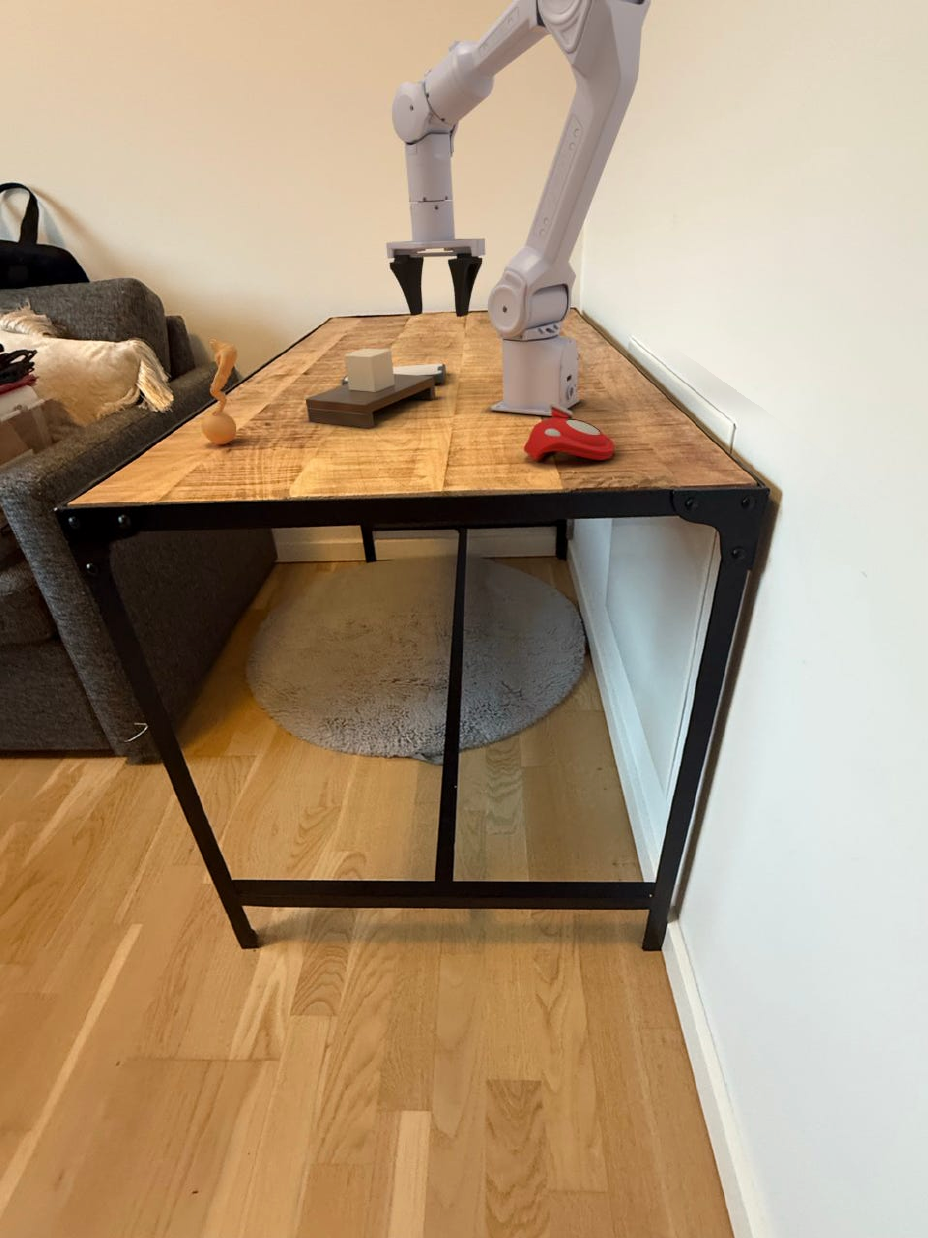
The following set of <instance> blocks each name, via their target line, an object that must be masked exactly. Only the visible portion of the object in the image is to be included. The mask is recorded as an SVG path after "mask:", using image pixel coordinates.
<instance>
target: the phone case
mask: <svg viewBox="0 0 928 1238" xmlns="http://www.w3.org/2000/svg"><path fill="white" fill-rule="evenodd" d="M446 367H447V366H446V364H445V363H428V364H427V363H425V364H416V365H403V366H393V374H404V375H418V376H432V377H434V385H435V384H440V383H443V382H445V379H446V373H447V370H446V369H447V368H446ZM347 383H348V379H347V374H346V375H345V376H344V378H343V379H342V380H341V386H342V385H345V384H347Z"/></svg>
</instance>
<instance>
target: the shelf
mask: <svg viewBox="0 0 928 1238" xmlns="http://www.w3.org/2000/svg"><path fill="white" fill-rule="evenodd" d="M394 383H395V384H394V385H392V386H389V387H387V388H384V389H382V390H379V391H377V392H368V391H357V390H349V386H348V383H347V384H345V385H342V384H341V385H340V386H339V385H338V386H337V387H333V388H331V389H328V390H325V391H323V392H320V393H316V394H314V395H312V396H309V397H306V398H305V404H306V410H307V417H308V421H309V422H311V423H320V424H329V425H336V426H345V427H354V428H360V429H361V428H363V429H371V428H374V427H375V420H374V419H375V418H374V413H373V412H376V411H377V410H380V409H382V408H385V407H387V406H389V405H391V404H394V403H396V402H399V401H401V400H403V399H416V400H427V401H432V400H435V399H436V385H435V384H434V377H432V376H418V375H404V374H394Z"/></svg>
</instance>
